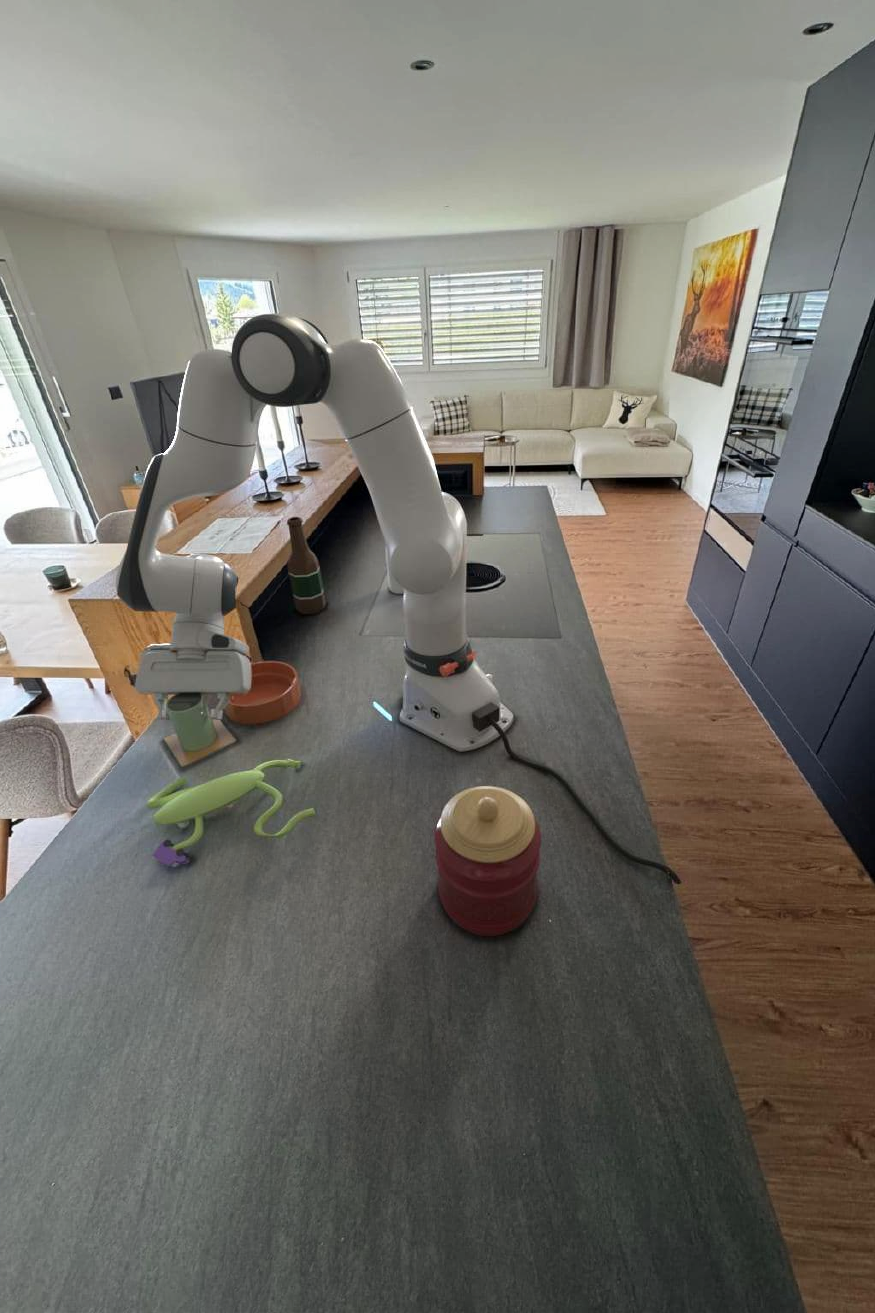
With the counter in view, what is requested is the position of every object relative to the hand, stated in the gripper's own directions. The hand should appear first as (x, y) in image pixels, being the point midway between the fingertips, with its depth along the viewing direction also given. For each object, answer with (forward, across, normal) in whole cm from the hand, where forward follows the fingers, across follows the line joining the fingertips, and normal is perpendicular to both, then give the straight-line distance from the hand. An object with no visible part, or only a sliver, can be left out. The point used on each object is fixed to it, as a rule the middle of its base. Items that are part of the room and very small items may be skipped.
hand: (190, 719), depth 99 cm
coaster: (+4, 0, +5) cm, 6 cm away
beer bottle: (-32, +8, +41) cm, 53 cm away
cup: (+3, 0, +4) cm, 5 cm away
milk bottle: (-40, +31, +49) cm, 70 cm away
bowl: (-5, +8, +13) cm, 16 cm away
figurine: (+16, +13, -7) cm, 22 cm away
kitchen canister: (+25, +52, -16) cm, 60 cm away
